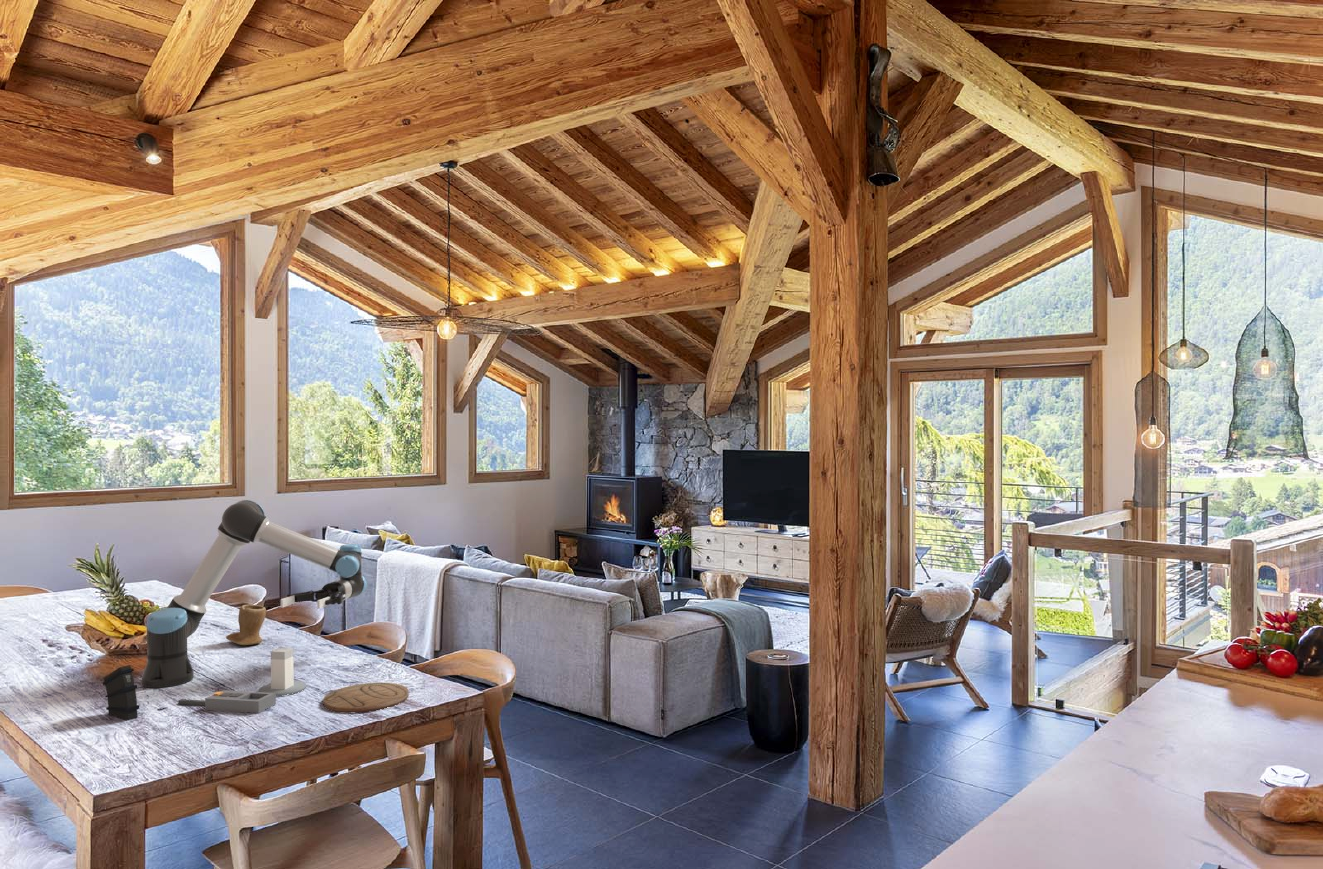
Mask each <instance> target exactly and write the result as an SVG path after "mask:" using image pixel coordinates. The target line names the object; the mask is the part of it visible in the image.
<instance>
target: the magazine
mask: <svg viewBox="0 0 1323 869" xmlns="http://www.w3.org/2000/svg"><path fill="white" fill-rule="evenodd" d="M134 671H135V669H134V668H133V667H132V666H131V664H129V665H124V666H120V667H118V668H117V669H115V670H114V671H112V672H110V673H109V674H108V675H106V676H105V677H103V682H102V686H105V689H106V695H105V696H104V697H105V699H106V698H107V706H106V708H105V709H106V711H108V712H107V713H108V715H109V716H112V717H115V718H119V719H122V720H124V721H127V720H128V721H131V720H134V718H135V719H137V718H138V710H140V705H139V704H138V701H137V700H138V699H137V693H136V692H137V691H136V690H137V689H138V684H135V678H134V675H133V672H134Z"/></svg>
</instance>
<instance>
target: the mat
mask: <svg viewBox="0 0 1323 869" xmlns="http://www.w3.org/2000/svg"><path fill="white" fill-rule="evenodd" d="M305 688H306V689H307V683H306V682H305V681H301V680H294V685H293V686H291V687H289V688H287V689H285V690H284V689H271V683H268V684H264V685H262V686H261V687H259V688H258V691H257V692H265V693H276V696H281V697H283V696H282V695H287V694H292V693H296V694H299V693H301V692H300V691H302V690H303V691H305V690H306V689H305ZM304 689H305V690H304ZM303 691H302V692H303ZM298 692H299V693H298Z"/></svg>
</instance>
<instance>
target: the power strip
mask: <svg viewBox="0 0 1323 869" xmlns="http://www.w3.org/2000/svg"><path fill="white" fill-rule="evenodd" d="M275 704H276V705H277V697H276V693H265V692H258V691H245V690H244V691H243V690H240V691H239V690H229V689H228V690H226V689H225V690H221V691H216V692H214V693H213V694H212V695H209V696H207V697H204V700H203V699H201V700H200V699H186V698H181V699H179V700H178V705H182V706H183V705H185V706H187V705H188V706H203V707H204V708H205V709H204V710H205V711H216V712H218V711H219V712H231V713H233V712H234V713H247V712H251V713H250V714H259V712H260V713H262V712H265V711H266V710H268V709H270V708H272V707H274V706H275ZM273 705H274V706H273ZM271 706H272V707H271ZM269 707H270V708H269ZM267 708H268V709H267ZM265 709H266V710H265Z"/></svg>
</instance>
